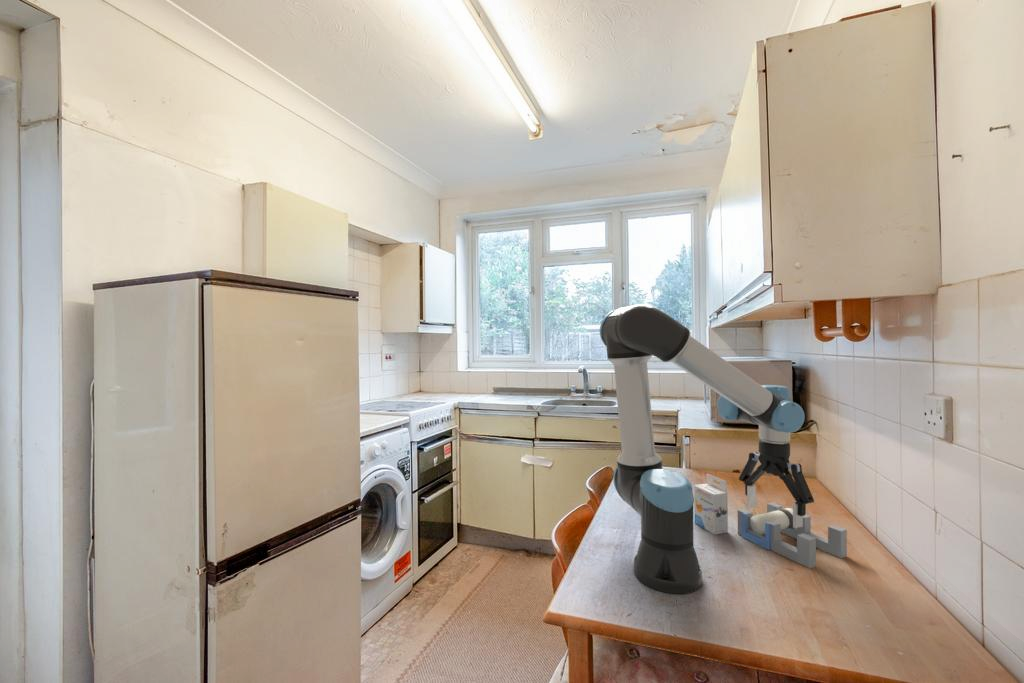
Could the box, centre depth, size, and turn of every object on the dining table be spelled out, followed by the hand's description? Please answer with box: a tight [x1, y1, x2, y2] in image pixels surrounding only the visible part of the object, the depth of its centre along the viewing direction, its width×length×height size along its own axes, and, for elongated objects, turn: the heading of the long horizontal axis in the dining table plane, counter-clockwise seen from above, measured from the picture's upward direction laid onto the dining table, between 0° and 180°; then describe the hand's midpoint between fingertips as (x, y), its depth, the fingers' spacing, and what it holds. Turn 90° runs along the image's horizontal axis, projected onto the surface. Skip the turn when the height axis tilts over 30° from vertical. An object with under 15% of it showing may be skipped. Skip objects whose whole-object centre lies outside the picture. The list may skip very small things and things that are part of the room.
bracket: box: [737, 501, 848, 569], centre depth 115 cm, size 16×20×7 cm
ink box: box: [693, 473, 729, 536], centre depth 125 cm, size 8×5×15 cm, turn 17°
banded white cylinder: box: [750, 507, 793, 535], centre depth 119 cm, size 14×5×5 cm, turn 112°
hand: (773, 517), depth 118 cm, fingers open, 13 cm apart
